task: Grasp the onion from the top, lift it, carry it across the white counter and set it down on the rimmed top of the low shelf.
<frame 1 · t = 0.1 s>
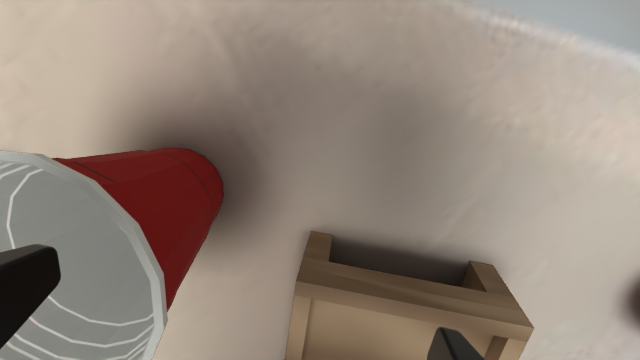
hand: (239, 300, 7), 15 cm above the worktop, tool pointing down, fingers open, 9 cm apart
shelf: (378, 328, 26), on the worktop
plastic cup: (186, 181, 23), on the worktop
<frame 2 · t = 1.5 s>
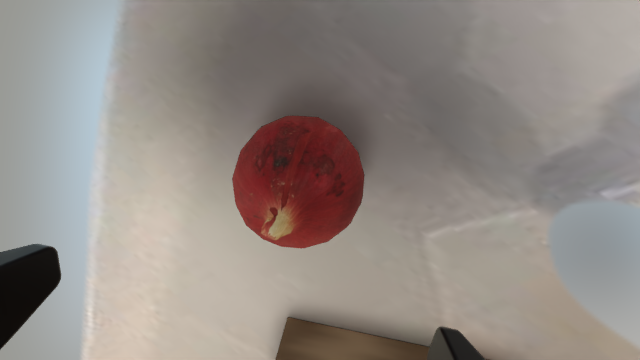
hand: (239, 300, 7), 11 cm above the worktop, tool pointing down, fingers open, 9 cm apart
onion: (311, 157, 18), on the worktop
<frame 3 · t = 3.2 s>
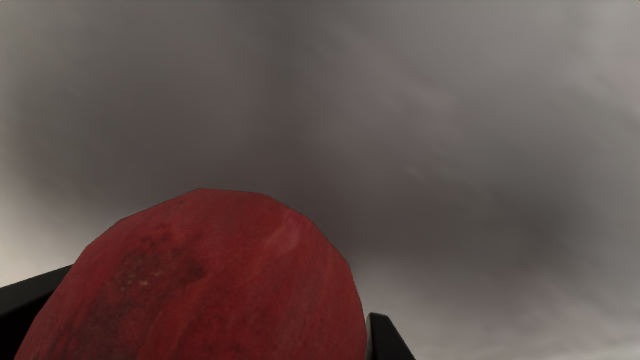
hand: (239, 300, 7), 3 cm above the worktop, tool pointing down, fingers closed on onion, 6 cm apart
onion: (270, 238, 10), on the worktop, touching gripper
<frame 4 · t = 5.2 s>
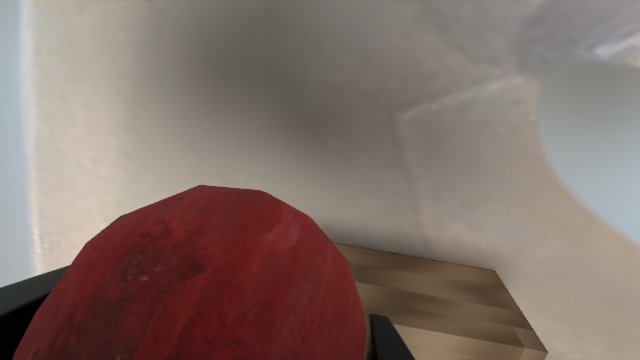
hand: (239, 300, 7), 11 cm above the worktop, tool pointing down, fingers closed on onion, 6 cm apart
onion: (270, 237, 10), point 9 cm above the worktop, touching gripper
shelf: (352, 329, 22), on the worktop
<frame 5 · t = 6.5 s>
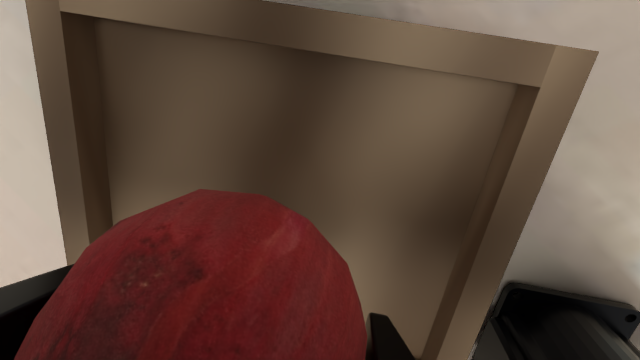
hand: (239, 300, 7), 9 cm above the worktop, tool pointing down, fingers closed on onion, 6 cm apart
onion: (270, 239, 10), point 6 cm above the worktop, touching gripper
shelf: (300, 172, 16), on the worktop
when the fingers open (8 cm above the worktop, at t = 7.4 s): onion drops 1 cm, resting on shelf.
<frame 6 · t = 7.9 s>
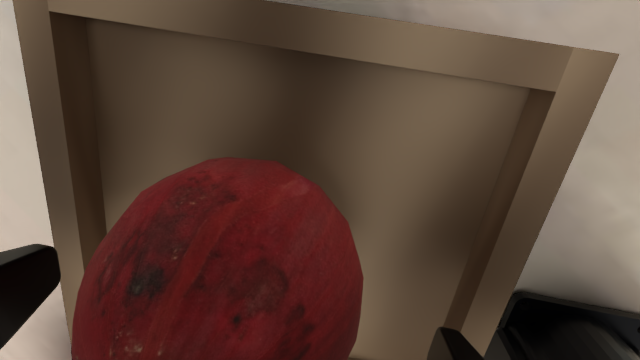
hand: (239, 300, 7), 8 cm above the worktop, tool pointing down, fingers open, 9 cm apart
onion: (281, 220, 11), point 4 cm above the worktop, touching shelf
shelf: (301, 177, 15), on the worktop
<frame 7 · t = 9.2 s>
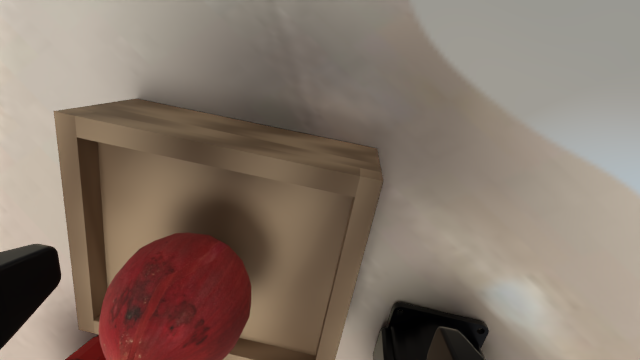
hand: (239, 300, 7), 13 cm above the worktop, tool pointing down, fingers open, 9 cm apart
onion: (218, 253, 18), point 4 cm above the worktop, touching shelf
shelf: (244, 217, 22), on the worktop
plastic cup: (122, 354, 28), on the worktop
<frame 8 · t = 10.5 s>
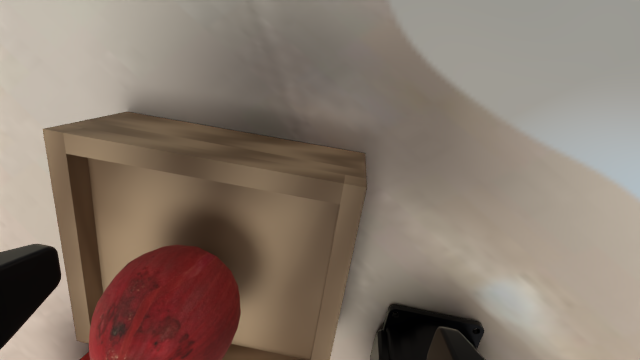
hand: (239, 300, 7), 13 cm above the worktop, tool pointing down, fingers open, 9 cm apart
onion: (210, 262, 18), point 4 cm above the worktop, touching shelf
shelf: (237, 225, 22), on the worktop
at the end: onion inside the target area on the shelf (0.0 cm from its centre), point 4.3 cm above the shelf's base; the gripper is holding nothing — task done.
